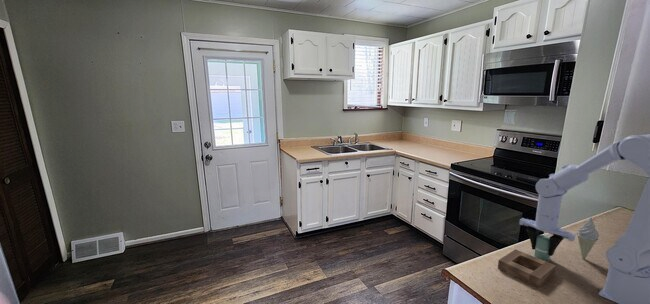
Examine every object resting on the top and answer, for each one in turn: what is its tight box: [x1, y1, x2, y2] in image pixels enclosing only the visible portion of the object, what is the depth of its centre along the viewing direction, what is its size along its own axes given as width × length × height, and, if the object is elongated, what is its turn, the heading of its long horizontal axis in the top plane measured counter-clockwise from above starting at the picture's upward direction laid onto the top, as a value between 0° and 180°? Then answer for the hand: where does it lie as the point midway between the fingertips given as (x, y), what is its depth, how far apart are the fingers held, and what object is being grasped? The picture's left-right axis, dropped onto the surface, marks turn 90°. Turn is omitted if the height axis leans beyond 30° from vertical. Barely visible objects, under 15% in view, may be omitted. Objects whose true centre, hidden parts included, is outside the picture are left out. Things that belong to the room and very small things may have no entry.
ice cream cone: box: [576, 217, 600, 260], centre depth 88 cm, size 5×5×15 cm
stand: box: [497, 248, 557, 289], centre depth 84 cm, size 11×11×3 cm
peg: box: [533, 234, 551, 261], centre depth 90 cm, size 4×4×7 cm
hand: (542, 251), depth 91 cm, fingers closed on peg, 4 cm apart
